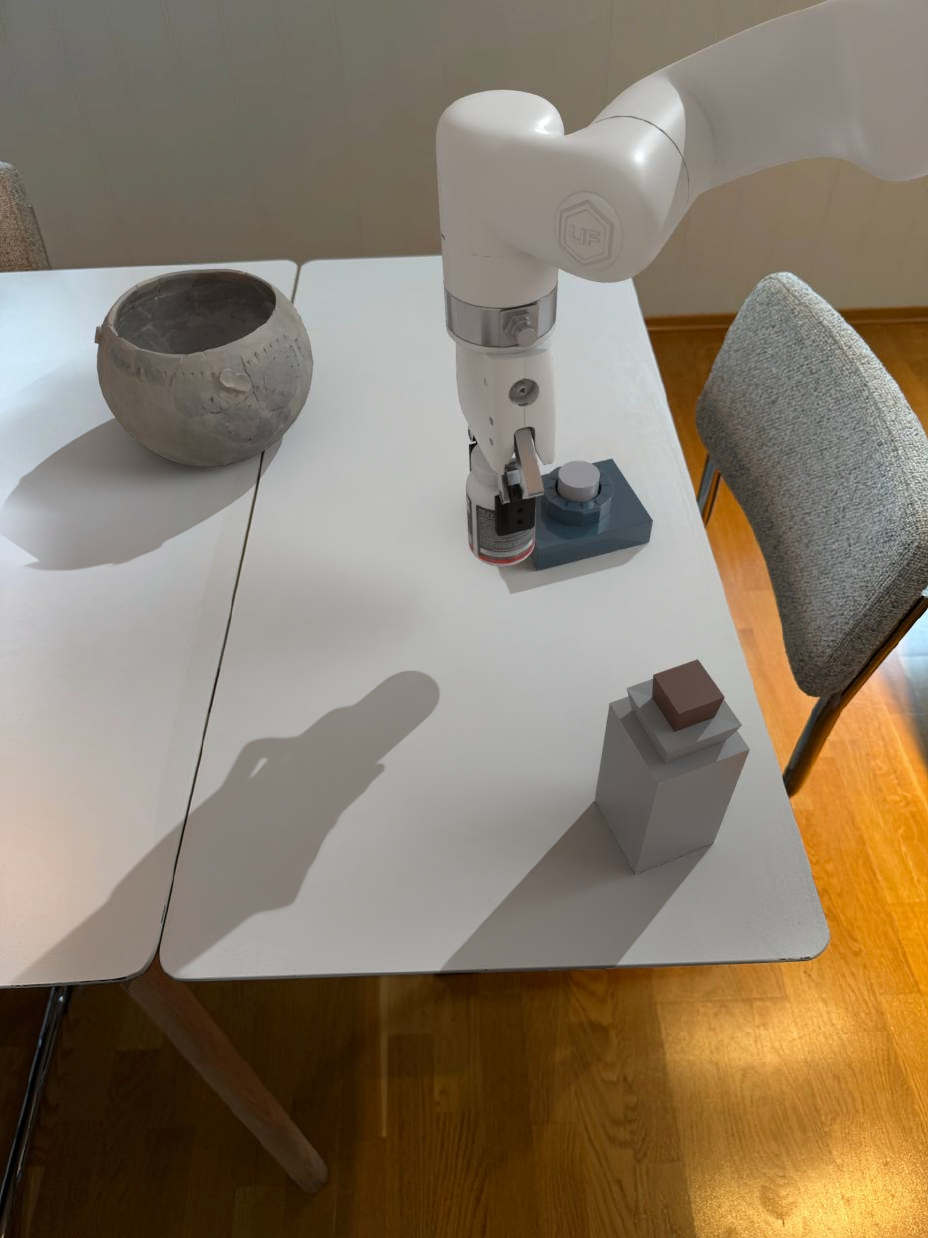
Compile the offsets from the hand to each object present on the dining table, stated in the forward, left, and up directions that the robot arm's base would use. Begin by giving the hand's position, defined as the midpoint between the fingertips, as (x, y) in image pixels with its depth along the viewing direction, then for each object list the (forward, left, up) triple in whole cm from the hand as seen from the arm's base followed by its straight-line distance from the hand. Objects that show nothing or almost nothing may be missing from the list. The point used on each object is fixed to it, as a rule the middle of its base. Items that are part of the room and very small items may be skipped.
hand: (501, 502), depth 74 cm
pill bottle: (0, 0, -5) cm, 5 cm away
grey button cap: (-11, -9, -10) cm, 17 cm away
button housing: (-11, -9, -14) cm, 20 cm away
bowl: (+21, -38, -14) cm, 46 cm away
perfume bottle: (-4, +24, -14) cm, 28 cm away
